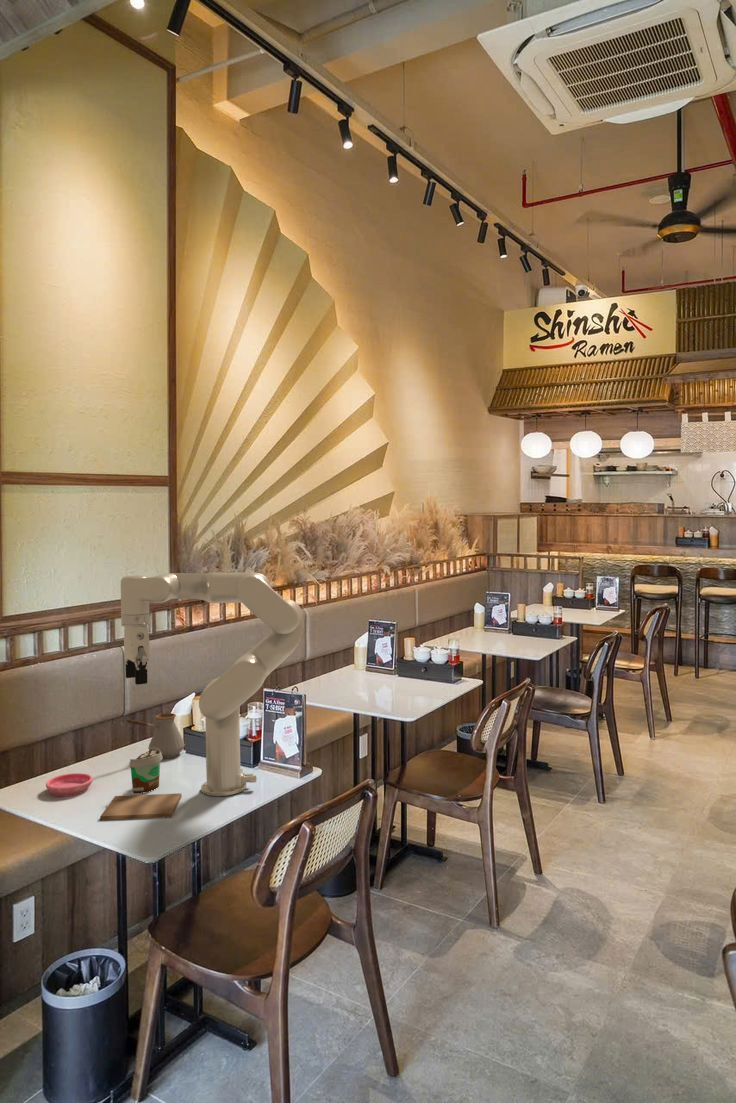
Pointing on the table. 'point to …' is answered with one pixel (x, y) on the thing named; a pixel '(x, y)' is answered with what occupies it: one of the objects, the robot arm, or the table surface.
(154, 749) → the food container
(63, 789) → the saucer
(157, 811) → the walnut board
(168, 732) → the coffee pot
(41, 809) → the table surface
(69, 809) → the table surface
